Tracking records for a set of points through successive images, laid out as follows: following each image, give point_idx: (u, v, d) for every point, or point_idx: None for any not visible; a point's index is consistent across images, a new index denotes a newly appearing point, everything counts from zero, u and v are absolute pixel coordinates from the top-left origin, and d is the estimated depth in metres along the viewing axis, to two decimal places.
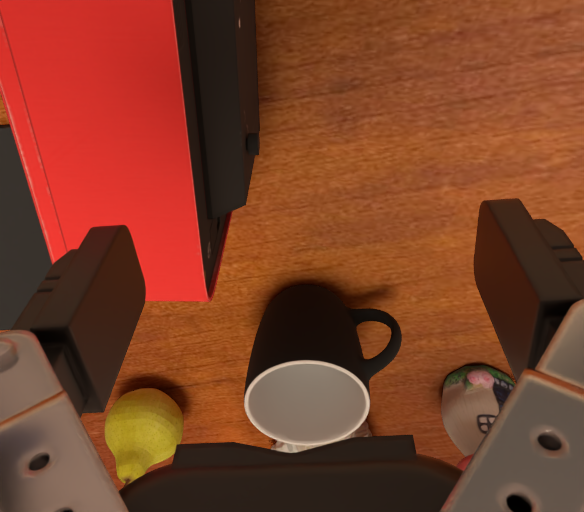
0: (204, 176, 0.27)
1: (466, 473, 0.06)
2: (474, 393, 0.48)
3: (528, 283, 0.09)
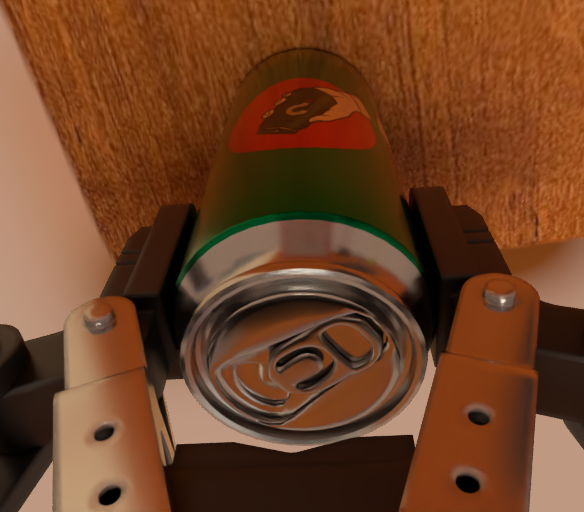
0: None
1: (414, 465, 0.06)
2: None
3: (435, 261, 0.10)
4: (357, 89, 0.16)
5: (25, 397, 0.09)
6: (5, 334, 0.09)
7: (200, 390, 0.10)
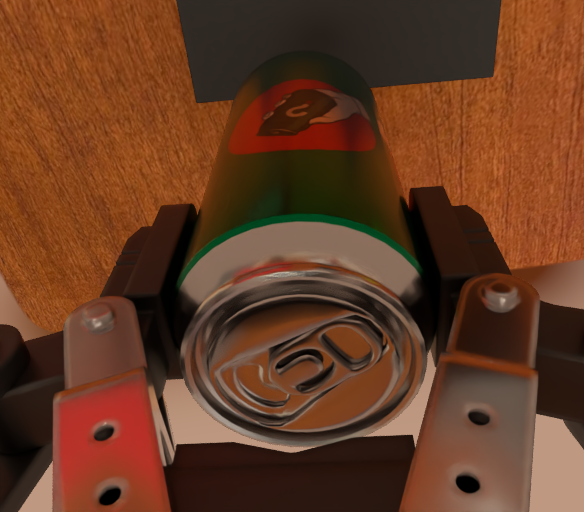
0: None
1: (414, 466, 0.06)
2: None
3: (435, 261, 0.10)
4: (357, 90, 0.16)
5: (25, 397, 0.09)
6: (5, 334, 0.09)
7: (200, 392, 0.10)
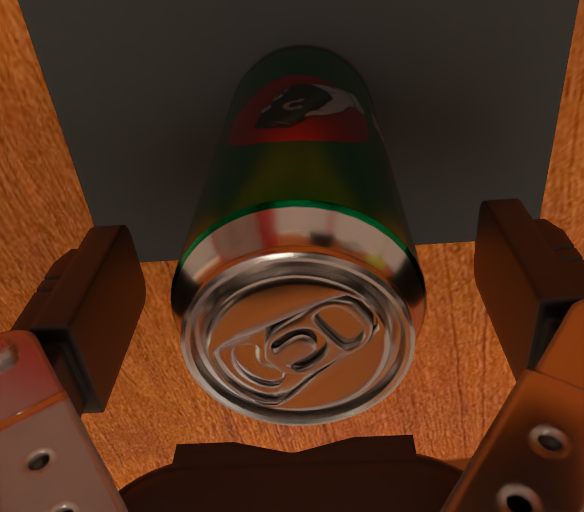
0: None
1: (466, 473, 0.06)
2: None
3: (528, 283, 0.09)
4: (353, 86, 0.16)
5: None
6: None
7: (200, 371, 0.11)
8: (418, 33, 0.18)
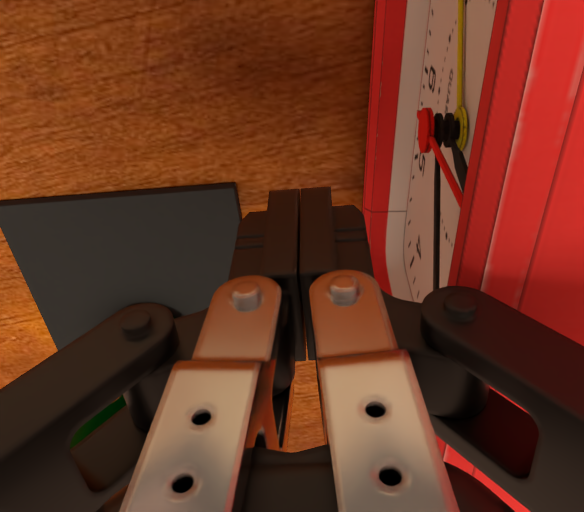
0: None
1: (338, 479, 0.06)
2: None
3: (300, 259, 0.11)
4: None
5: None
6: (160, 317, 0.09)
7: None
8: None
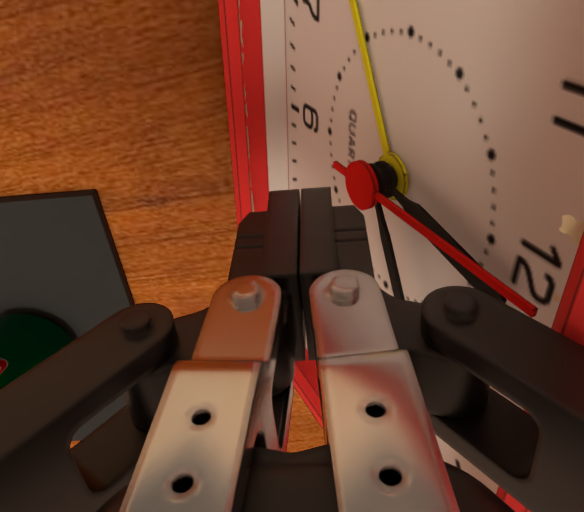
0: None
1: (338, 479, 0.06)
2: None
3: (300, 259, 0.11)
4: None
5: None
6: (160, 317, 0.09)
7: None
8: None
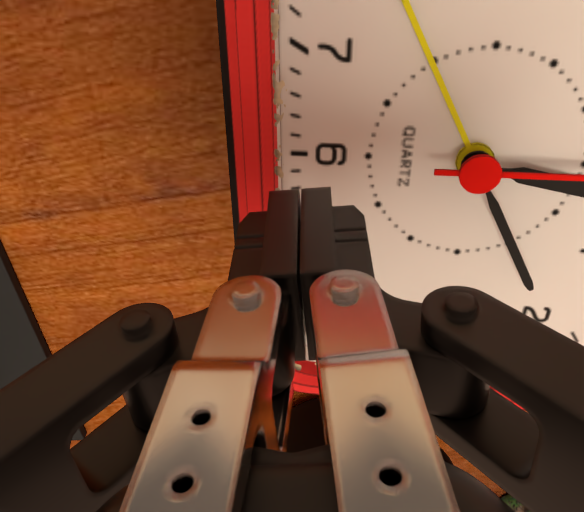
0: None
1: (338, 479, 0.06)
2: None
3: (300, 259, 0.11)
4: None
5: None
6: (160, 316, 0.09)
7: None
8: None
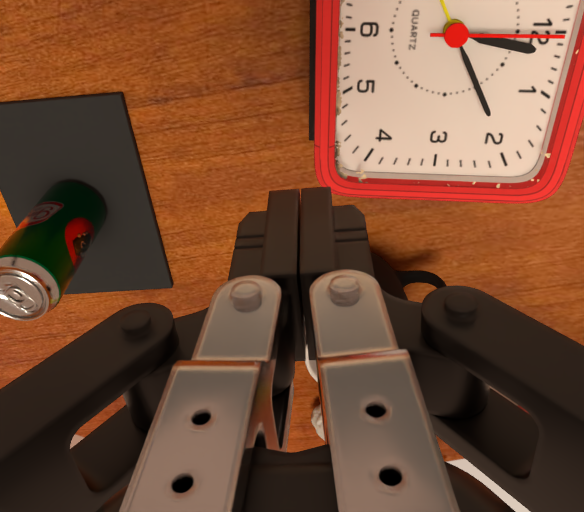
0: None
1: (338, 479, 0.06)
2: None
3: (300, 259, 0.11)
4: None
5: None
6: (160, 316, 0.09)
7: None
8: (119, 244, 0.49)
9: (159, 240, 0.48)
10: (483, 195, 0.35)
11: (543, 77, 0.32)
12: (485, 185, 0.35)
